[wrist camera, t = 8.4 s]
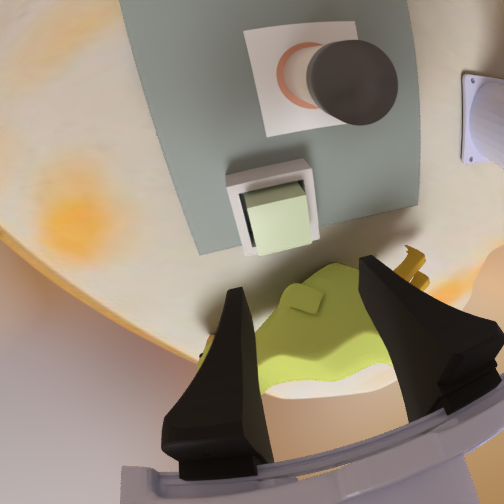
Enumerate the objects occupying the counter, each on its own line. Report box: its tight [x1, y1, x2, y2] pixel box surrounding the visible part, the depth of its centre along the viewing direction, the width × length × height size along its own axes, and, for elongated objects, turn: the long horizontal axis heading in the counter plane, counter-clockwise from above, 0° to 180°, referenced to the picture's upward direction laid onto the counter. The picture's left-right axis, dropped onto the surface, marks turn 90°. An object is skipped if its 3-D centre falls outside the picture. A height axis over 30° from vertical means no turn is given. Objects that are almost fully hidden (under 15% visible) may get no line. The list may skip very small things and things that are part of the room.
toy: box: [197, 245, 430, 396], centre depth 22 cm, size 6×17×20 cm
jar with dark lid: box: [283, 40, 398, 126], centre depth 13 cm, size 4×4×7 cm
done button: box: [244, 181, 312, 256], centre depth 19 cm, size 3×3×2 cm
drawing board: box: [119, 0, 420, 257], centre depth 15 cm, size 18×23×2 cm
